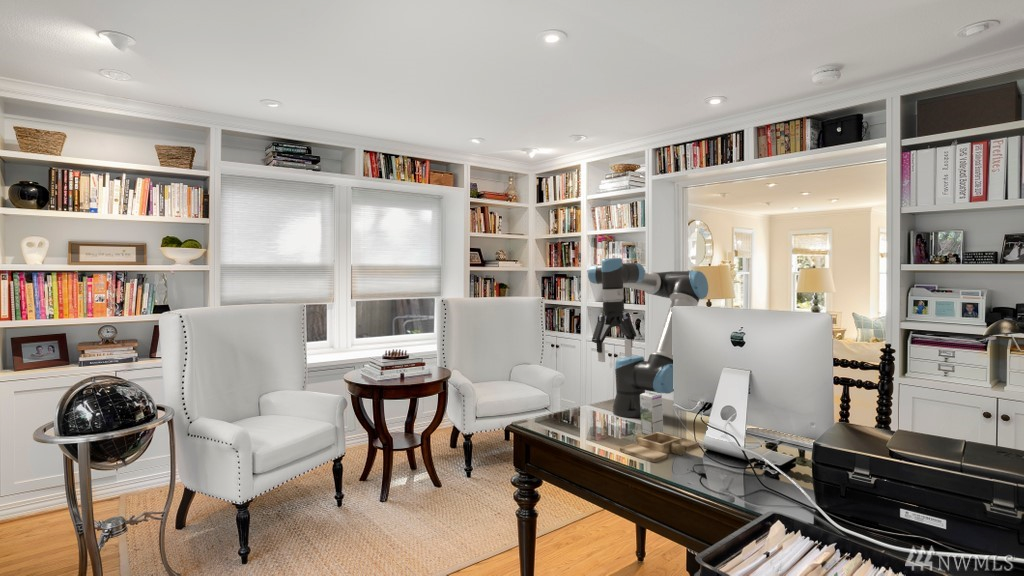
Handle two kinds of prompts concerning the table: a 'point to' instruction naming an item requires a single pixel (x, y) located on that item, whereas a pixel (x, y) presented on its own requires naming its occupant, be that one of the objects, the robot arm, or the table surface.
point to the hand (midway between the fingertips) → (615, 359)
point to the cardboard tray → (658, 446)
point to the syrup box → (651, 413)
